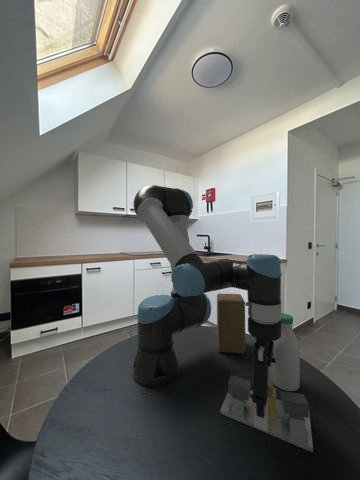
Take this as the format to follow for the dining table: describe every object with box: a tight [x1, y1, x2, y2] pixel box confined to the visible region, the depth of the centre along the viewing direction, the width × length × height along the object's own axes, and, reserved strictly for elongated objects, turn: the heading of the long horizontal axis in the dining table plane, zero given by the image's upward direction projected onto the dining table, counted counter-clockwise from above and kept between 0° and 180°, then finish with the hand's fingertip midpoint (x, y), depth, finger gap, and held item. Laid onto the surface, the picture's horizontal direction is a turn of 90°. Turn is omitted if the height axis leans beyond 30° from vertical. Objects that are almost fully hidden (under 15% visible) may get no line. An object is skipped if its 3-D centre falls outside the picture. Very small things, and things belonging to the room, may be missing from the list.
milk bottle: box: [271, 312, 301, 392], centre depth 60 cm, size 8×8×20 cm
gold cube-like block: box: [251, 385, 277, 421], centre depth 49 cm, size 5×4×5 cm
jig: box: [220, 374, 314, 453], centre depth 49 cm, size 19×10×6 cm, turn 61°
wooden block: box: [216, 293, 246, 354], centre depth 80 cm, size 10×10×20 cm
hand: (264, 404), depth 49 cm, fingers open, 13 cm apart
